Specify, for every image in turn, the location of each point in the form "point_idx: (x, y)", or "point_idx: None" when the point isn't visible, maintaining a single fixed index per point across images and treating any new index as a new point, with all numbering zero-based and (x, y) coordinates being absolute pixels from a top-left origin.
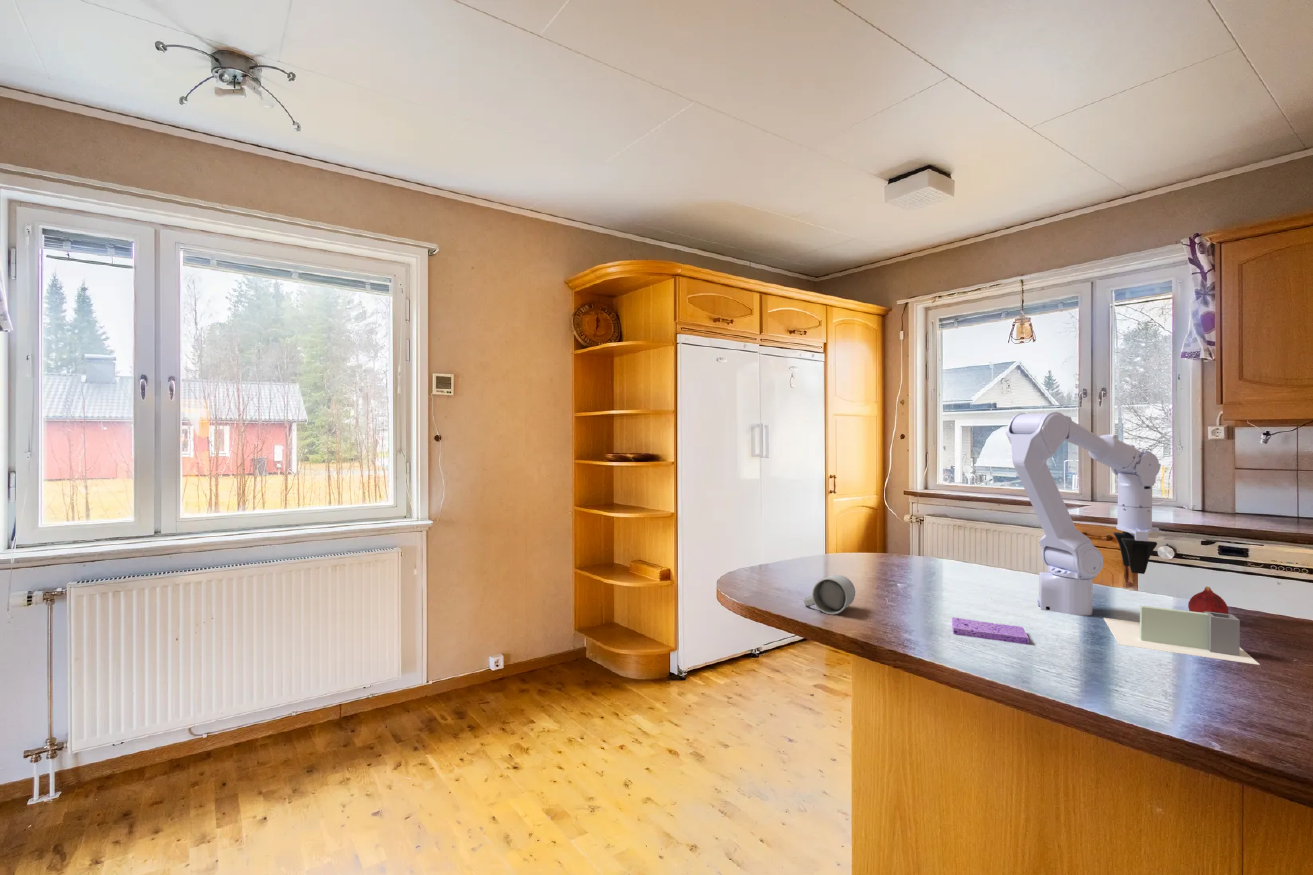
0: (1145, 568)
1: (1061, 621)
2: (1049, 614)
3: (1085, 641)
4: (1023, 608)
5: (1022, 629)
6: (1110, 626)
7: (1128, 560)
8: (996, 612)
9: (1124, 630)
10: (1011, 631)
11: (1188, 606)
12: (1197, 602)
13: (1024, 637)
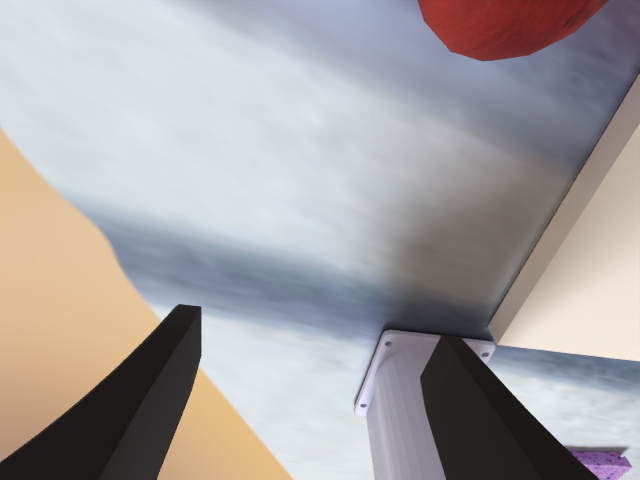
0: (484, 367)
1: None
2: None
3: (616, 384)
4: (365, 429)
5: None
6: (583, 350)
7: (188, 374)
8: None
9: (621, 332)
10: None
11: (460, 53)
12: (558, 38)
13: (628, 469)
